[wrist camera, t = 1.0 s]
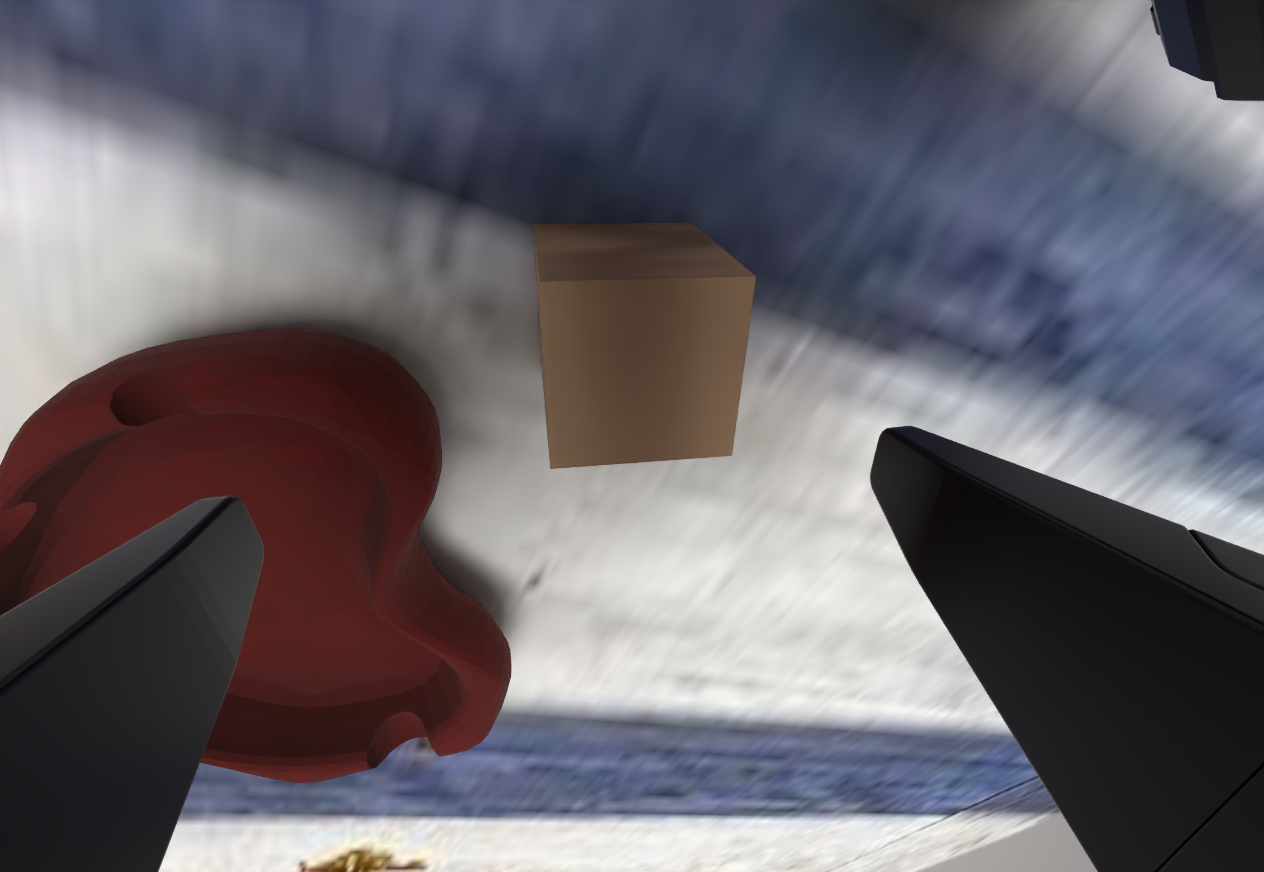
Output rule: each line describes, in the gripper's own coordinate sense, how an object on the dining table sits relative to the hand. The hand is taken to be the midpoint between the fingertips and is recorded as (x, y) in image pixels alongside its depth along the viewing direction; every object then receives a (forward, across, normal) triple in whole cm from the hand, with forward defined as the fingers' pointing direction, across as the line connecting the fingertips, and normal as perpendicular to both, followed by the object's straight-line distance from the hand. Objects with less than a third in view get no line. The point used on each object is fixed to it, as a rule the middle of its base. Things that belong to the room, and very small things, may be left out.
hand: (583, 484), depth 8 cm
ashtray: (+12, +12, +10) cm, 20 cm away
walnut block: (+12, -2, +2) cm, 12 cm away
